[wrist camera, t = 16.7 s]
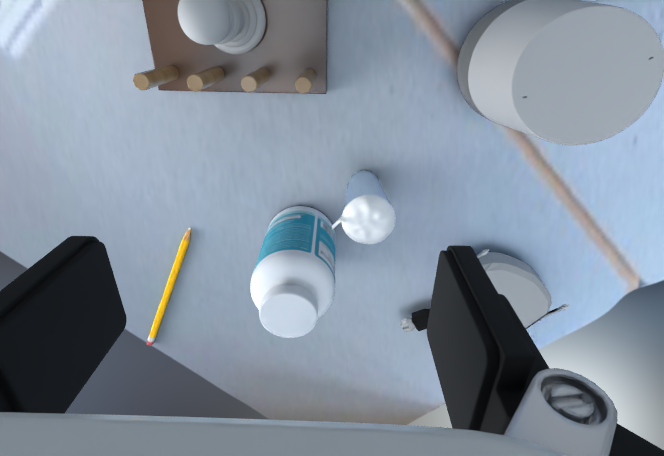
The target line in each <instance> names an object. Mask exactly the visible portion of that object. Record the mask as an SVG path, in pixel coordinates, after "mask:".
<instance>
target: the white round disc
mask: <svg viewBox="0 0 664 456" xmlns="http://www.w3.org/2000/svg"><path fill="white" fill-rule="evenodd" d="M488 251H489V249H485V250H483V251H481V253H479V254H478V255H476V256H477V258H478V259H479V261H480V263H481V265H482V266H483V268H484V270H485V271H486V273H487V275H488V277H489V278H490V280H491V282H492V284H493V285H494V287H495V289H496V290H497V292H498V294H502V295H505V297H506V298H507V299H508V301H509V302H510V304H511V306H512V307H513V309H514V311H515V312H516V314H517V316H518V317H519V319H520V321H521V322H522V324H523V326H524V327H525V329H527V328H528V327H530V326H531V325H533V324H534V323H536V322H538V321H540V320H541V318H544V317H546V316H549V315H551V314H553V313H556V312H558V311H561V310H565V309H567V308H568V307H569V305H566V304H564V305H562V306H561V307H559V308H557V309H554V310H552V311H549V312H548V310H549V308H550V306H551V304H552V302H551V295H550V293H549V291H548V290H547V288H546V287H545V285H544V283H543V282H542V280H541V279H540V277H539V276H538V275H537V274H536V273H535V272H534V271H533V269H532V268H531V267H530V266H529V265H528V264H526V263H524V262H522V261H520V260H518V259H515V258H513V257H511V256H508V255H505V254H502V253H492V252H488ZM429 312H430V309H422V310H420V311H417V312H414V313H412V318H405V319H403V320H402V321H401V327H403V330H404V331H406V332H408V331H412V330H413V329H414V328H415V327H416V329H417V330H418V331H421V330H424V329H427V324H428V318H429Z"/></svg>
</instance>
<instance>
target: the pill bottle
mask: <svg viewBox="0 0 664 456" xmlns="http://www.w3.org/2000/svg"><path fill="white" fill-rule="evenodd" d="M331 229H332V224H331V222H330V221H329V219H328V218H327V217H326V216H325V215H324V214H322V213H321V212H319V211H318V210H316V209H313V208H310V207H304V206H296V207H291V208H288V209H285V210H283V211H281V212H280V213H278V214H277V215H276V216H275V217H274V218H273V220H272V221H271V223H270V225H269V227H268V230H267V233H266V236H265V239H264V242H263V245H262V248H261V251H260V254H259V257H258V260H257V263H256V266H255V269H254V272H253V275H252V279H251V285H250V290H251V296H252V299H253V301H254V303H255V305H256V306H257V308H258V309H259V318H260V321H261V323H262V325H263V326H264V327H265V328H266V329H267V330H268V331H269V332H271V333H272V334H274V335H277V336H279V337H284V338H296V337H300V336H303V335H305V334H307V333H308V332H310V331H311V330H312V329H313V328H314V326H315V324H316V322H317V319H318V318H319V317H321V316H322V315H323V314H324V313H325V312H326V311H327V310H328V309H329V307H330V306H331V304H332V301H333V298H334V294H335V243H336V241H335V231H334V229H333V230H331Z"/></svg>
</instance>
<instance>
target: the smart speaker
mask: <svg viewBox="0 0 664 456" xmlns="http://www.w3.org/2000/svg"><path fill="white" fill-rule="evenodd" d="M663 73H664V52H663V48H662V44H661V41H660V39H659V37H658V35H657V33H656V32H655V30H654V29H653V28H652V26H651V25H650V24H649V23H648V22H647V21H646V20H645V19H643V18H642V17H641V16H639V15H637V14H635V13H634V12H631V11H629V10H627V9H624V8H620V7H616V6H610V5H605V4H599V3H593V2H587V1H581V0H510V1H508V2H505V3H503V4H501V5H499V6H497V7H496V8H494V9H492V10H491V11H490V12H488V13H487V14H486V15H484V16H483V17H482V18H481V19H480V20H479V21H478V22H477V23H476V24H475V25H474V27H473V28H472V29H471V31H470V32H469V33H468V35H467V37H466V39H465V41H464V43H463V45H462V47H461V50H460V53H459V57H458V63H457V78H458V83H459V87H460V90H461V92H462V95H463V97H464V98H465V100H466V101H467V103H468V104H469V105H470V106H471V107H472V108H473V109H474V110H475V111H476V112H477V113H479V114H480V115H481V116H483V117H485V118H487V119H489V120H491V121H493V122H495V123H497V124H500V125H503V126H506V127H509V128H512V129H514V130H517V131H520V132H523V133H526V134H529V135H532V136H534V137H537V138H540V139H543V140H546V141H549V142H552V143H556V144H562V145H585V144H590V143H595V142H598V141H602V140H604V139H607V138H610V137H612V136H614V135H616V134H618V133H620V132H621V131H623V130H624V129H626V128H627V127H629V126H630V125H632V124H633V123H634V122H635V121H636V120H637V119H639V118H640V117H641V116H642V114H643V113H644V112H645V111H646V110H647V108H648V107H649V106H650V104H651V103H652V101H653V100H654V98H655V96H656V94H657V92H658V90H659V87H660V85H661V82H662V78H663Z"/></svg>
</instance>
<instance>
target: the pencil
mask: <svg viewBox="0 0 664 456" xmlns="http://www.w3.org/2000/svg"><path fill="white" fill-rule="evenodd" d="M190 234H191V227H190V228H189V229H188V231H187V232H186V234H185V235H184V237H183V239H182V242H181V245H180V248H179V250H178V253H177V256H176V259H175V262H174V265H173V268H172V271H171V274H170V276H169V279H168V282H167V285H166V288H165V291H164V294H163V297H162V300H161V302H160V305H159V308H158V311H157V314H156V317H155V320H154V323H153V326H152V329H151V331H150V334H149V337H148V340H147V345H152V344H153V342H154V340H155V337H156V334H157V331H158V328H159V326H160V323H161V320H162V317H163V314H164V312H165V309H166V306H167V303H168V300H169V298H170V295H171V292H172V289H173V286H174V284H175V281H176V278H177V275H178V272H179V270H180V267H181V264H182V261H183V258H184V256H185V253H186V250H187V247H188V244H189V242H190Z"/></svg>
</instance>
